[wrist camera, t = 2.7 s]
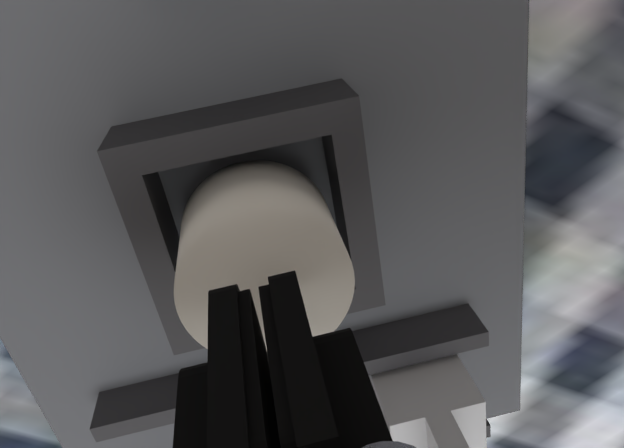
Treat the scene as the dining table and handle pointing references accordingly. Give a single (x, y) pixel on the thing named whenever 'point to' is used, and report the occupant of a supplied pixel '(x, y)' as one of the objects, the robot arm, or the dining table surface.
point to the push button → (261, 244)
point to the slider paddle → (432, 404)
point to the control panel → (249, 147)
